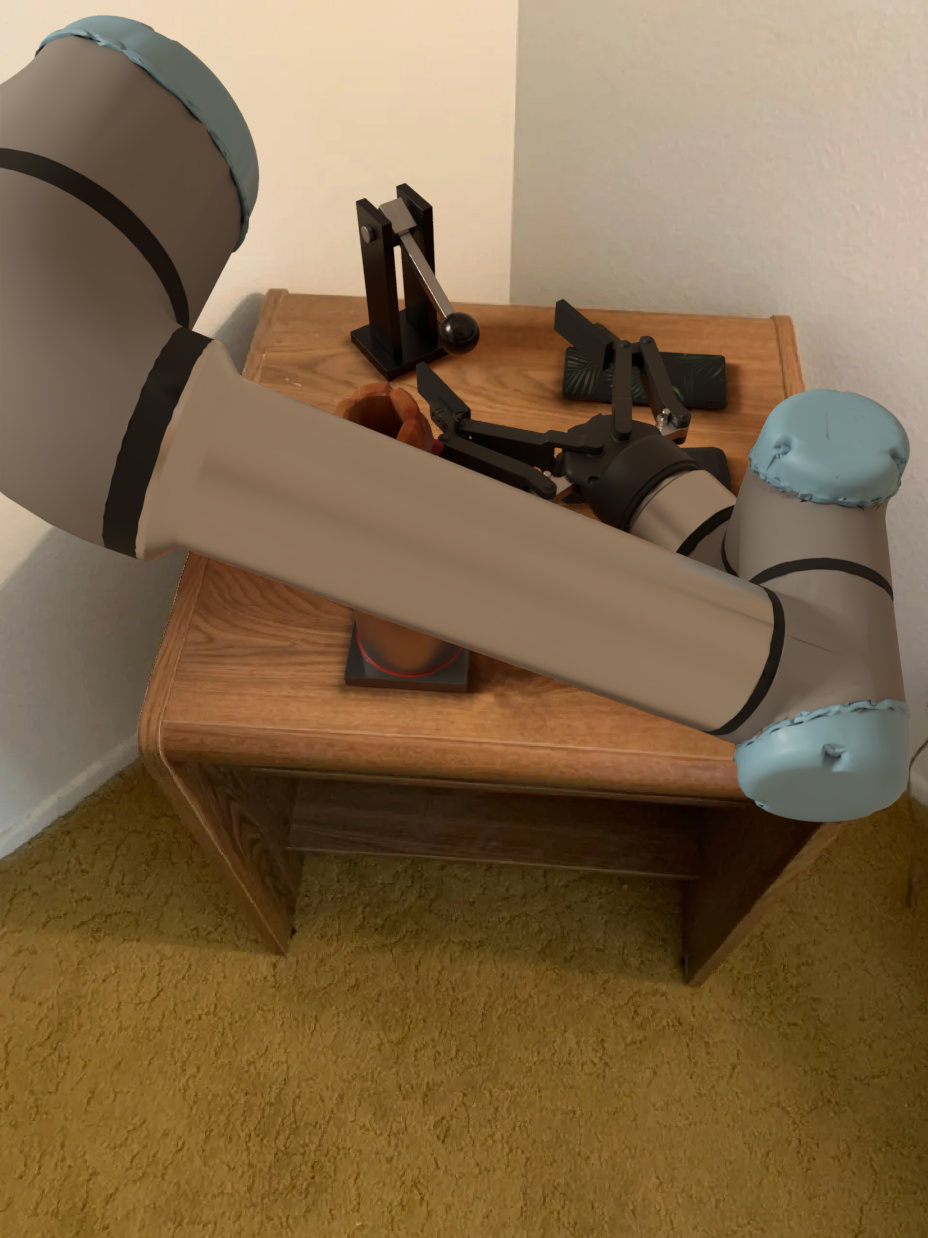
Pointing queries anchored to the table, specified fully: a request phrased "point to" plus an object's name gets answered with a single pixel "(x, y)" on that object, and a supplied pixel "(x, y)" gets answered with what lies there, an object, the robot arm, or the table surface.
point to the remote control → (704, 456)
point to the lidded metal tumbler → (400, 646)
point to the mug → (390, 415)
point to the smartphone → (689, 374)
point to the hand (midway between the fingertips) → (491, 344)
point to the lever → (431, 284)
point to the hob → (439, 679)
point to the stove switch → (390, 332)
